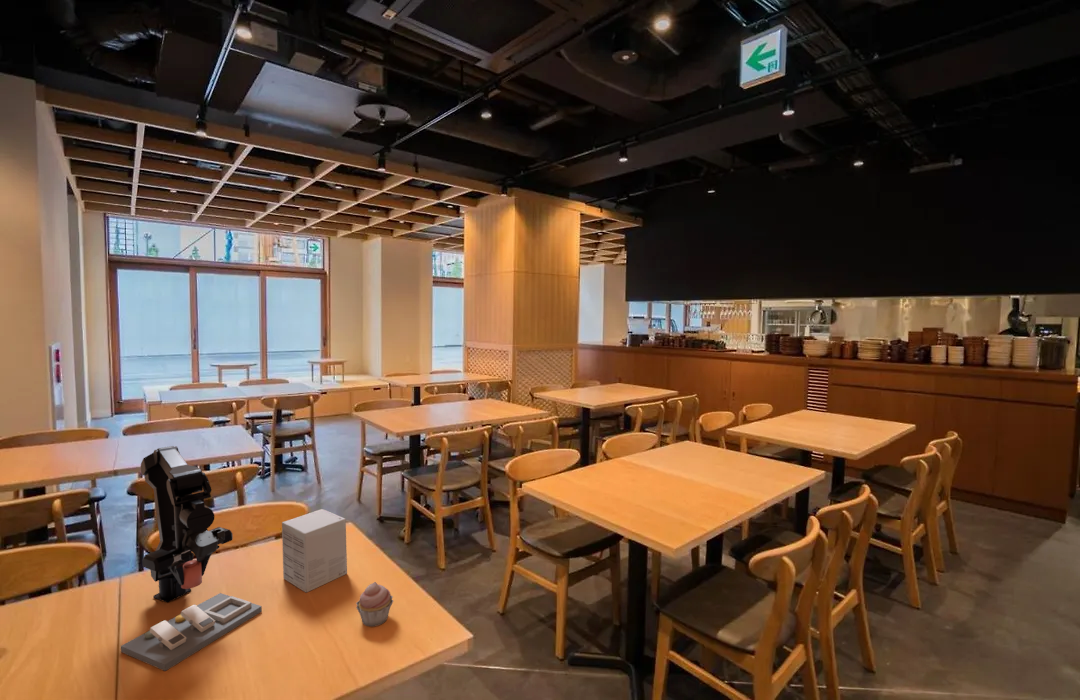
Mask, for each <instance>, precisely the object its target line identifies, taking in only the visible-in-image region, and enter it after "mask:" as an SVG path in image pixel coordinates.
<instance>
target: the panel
mask: <svg viewBox="0 0 1080 700" xmlns="http://www.w3.org/2000/svg"><path fill="white" fill-rule="evenodd" d="M196 606H197V607H199V608H200V609H201V610H202V611H204V612H206V613H207V615H209V616H210V617H211V618H212V619H214V620H215V625H213V626H212V627H210V628H208V629H207V630H205V631H203V632H200V631H199V630H198V629H197V628H196V627H194V626H193V625H192V624H190V623H189V622H188V621H187V620H186V619H185V618H183V617H182V616H181V613H180V614H178V615H176V616H175V617H173V618H170V619H168V620H166V621H167V622H168V623H169V624H171V625H172V626H173V627H174V628H177V629H178V631H179V632H180V633H181V634H183V635H184V636H185V637H186V642H184V643H183V644H181V645H179V646H177V647H176V648H174V649H172V650H170V649H169V648H168V647H167V646H166V645H164V644H163V643H162V642H161V641H158V639H157V638H156V637H155V636H154V635H153V634H152V633H150V630H148V631H146V632H144V633H143V634H140V635H139V636H137V637H134V638H133V639H131V640H129V641H127V642H126V643H123V644H122V645H120V652H121V653H123V654H124V655H127V656H130V657H131V658H134V659H137V660H139V661H141V662H143V663H146V664H148V665H150V666H153V667H155V668H157V669H159V670H162V671H164V672H166V671H168V670H169V669H170V668H173V667H174V666H177V664H179V663H180V662H182V661H184V660H186V659H187V658H189V657H190V656H193V655H194V654H195V653H197V652H199V651H200V650H202V649H203V648H205V647H207V646H208V645H209V644H211V643H213V642H215V641H216V640H218V639H219V638H221V637H223V636H224V635H226V634H228V633H229V632H231V631H232V630H234V629H236V628H238V627H240V626H241V625H242V624H244V623H246V622H247V621H249V620H251V619H252V618H254V617H255V616H257V615H259V614H260V613H262V609H263V607H262V605H259V604H257V603H253V602H252V601H248V600H245V599H243V598H239V597H236V596H233V595H231V596H230V595H228V594H225V593H221V592H219V593H217V594H216V595H214V596H211V597H210V598H208V599H206V600H205V601H202V602H201V603H199V604H197V605H196Z"/></svg>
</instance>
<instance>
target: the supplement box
mask: <svg viewBox="0 0 1080 700" xmlns="http://www.w3.org/2000/svg"><path fill="white" fill-rule="evenodd" d="M281 535H282V539H281V540H282V542H281V543H282V569H283V571H282V573H283V574H282V575H283V579H284V580H285V581H287V582H288V583H289V584H291V585H293V586H295V587H296V588H298V589H300V590H301V591H302V592H304V593H308V592H311V591H313V590H316V589H317V588H319V587H321V586H324V585H326V584H328V583H330V582H332V581H335V580H337V579H338V578H341V577H343V576H345V575H347V574H348V563H347V562H348V558H347V557H348V553H347V519H346V517H345V518H344V516H343V517H342V516H340V515H338V514H335V513H333V512H330V511H328V510H326V509H323V508H321V509H316V510H315V511H311V512H309V513H306V514H303V515H300V516H297V517H294V518H292V519H287V520H285V521H282V522H281Z"/></svg>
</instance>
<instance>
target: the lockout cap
mask: <svg viewBox="0 0 1080 700" xmlns="http://www.w3.org/2000/svg"><path fill="white" fill-rule="evenodd" d="M183 573H184V585H181V588H183V589H193V588H196V587H198V586H200V585H201V584H202V583H203V576H202V567H201V562H200V561H197V559H193V560H192V561H188V562H186V563H184V565H183Z"/></svg>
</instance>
